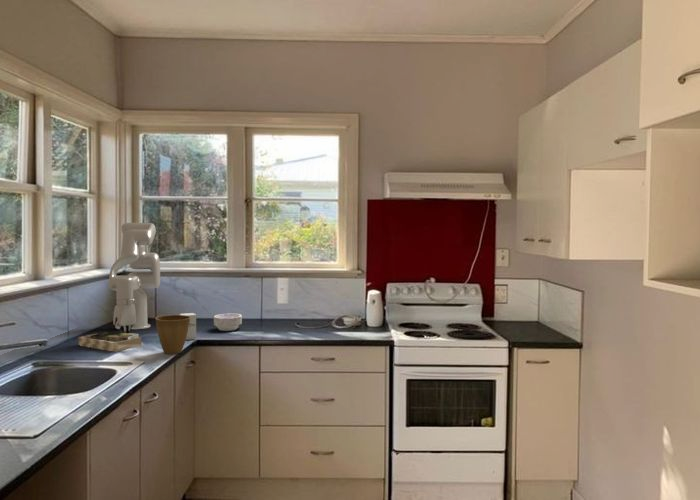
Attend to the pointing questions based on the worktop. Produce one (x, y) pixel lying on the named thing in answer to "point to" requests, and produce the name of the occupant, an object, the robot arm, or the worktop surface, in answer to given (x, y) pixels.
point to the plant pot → (172, 332)
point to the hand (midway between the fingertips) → (125, 339)
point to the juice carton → (114, 336)
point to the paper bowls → (227, 321)
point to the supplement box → (191, 326)
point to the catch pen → (109, 343)
